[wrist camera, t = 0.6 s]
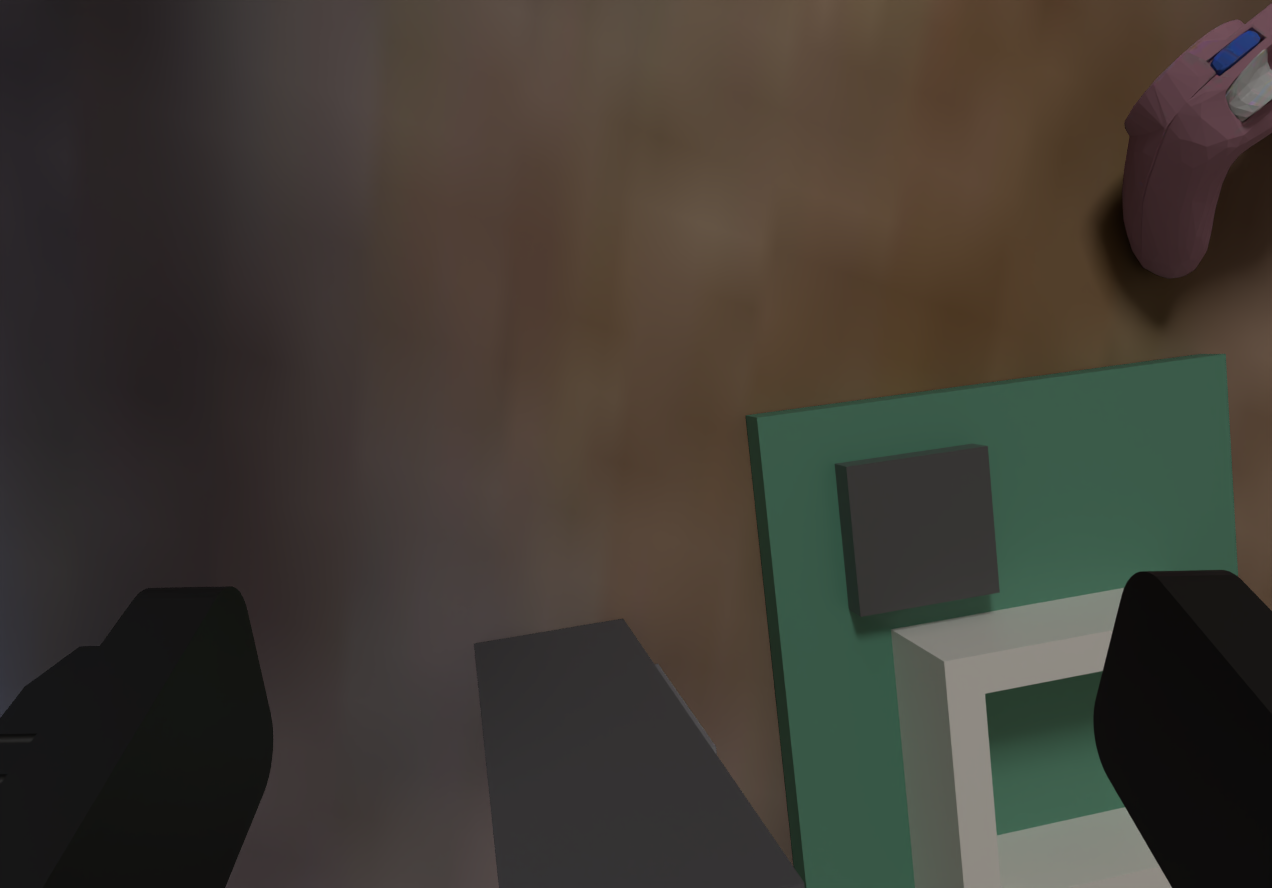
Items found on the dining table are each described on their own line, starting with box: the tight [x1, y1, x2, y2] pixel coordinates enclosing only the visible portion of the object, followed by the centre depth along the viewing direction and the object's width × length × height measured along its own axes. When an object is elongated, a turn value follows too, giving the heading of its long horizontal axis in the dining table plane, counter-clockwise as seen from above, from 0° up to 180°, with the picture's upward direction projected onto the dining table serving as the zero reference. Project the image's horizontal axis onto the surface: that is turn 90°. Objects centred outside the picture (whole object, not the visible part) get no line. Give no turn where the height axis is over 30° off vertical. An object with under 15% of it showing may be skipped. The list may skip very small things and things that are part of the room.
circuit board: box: [746, 354, 1238, 888], centre depth 28 cm, size 20×14×4 cm
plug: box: [474, 619, 805, 888], centre depth 19 cm, size 4×5×17 cm
